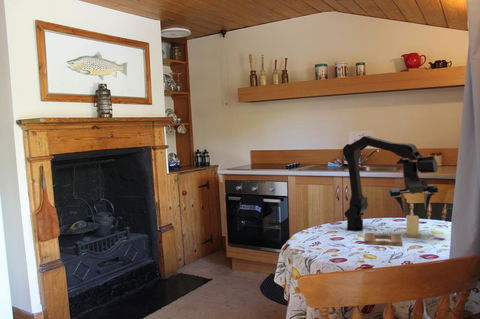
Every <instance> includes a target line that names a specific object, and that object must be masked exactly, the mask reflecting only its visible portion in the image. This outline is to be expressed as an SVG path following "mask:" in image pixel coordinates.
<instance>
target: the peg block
mask: <svg viewBox="0 0 480 319" xmlns="http://www.w3.org/2000/svg"><path fill="white" fill-rule="evenodd" d="M405 222H406V229H405V230H406V232H405V233H406V234H407V236H409V237H419V233H420V231H419V229H420V228H419V227H420V223H419V222H420V218H419V216H418V215H411V214H410V215H409V214H407V215H406V220H405Z"/></svg>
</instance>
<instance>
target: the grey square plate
mask: <svg viewBox="0 0 480 319" xmlns="http://www.w3.org/2000/svg"><path fill="white" fill-rule="evenodd" d="M402 234H403V238H404V239H405V238H406V239H407V238H410V239H423V236H422V233H420V232H419V237H409V236H407V234H406V232H402Z"/></svg>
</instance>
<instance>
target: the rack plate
mask: <svg viewBox="0 0 480 319" xmlns="http://www.w3.org/2000/svg"><path fill="white" fill-rule="evenodd" d="M364 245H369V246H370V245H371V246H390V247H396V248H395V250H396V249H399V248H397V247H403V239H402V235H401V234H400V233H399V234H397V233H383V232H382V233H381V232H379V233H378V232H364ZM378 248H380V249H381V248H382V247H378Z"/></svg>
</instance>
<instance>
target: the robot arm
mask: <svg viewBox="0 0 480 319" xmlns="http://www.w3.org/2000/svg"><path fill="white" fill-rule="evenodd" d="M368 146H369V147H372V148H375V149H379V150H383V151H384V150H385V151H388V152H391V153H393V154H395V156H398V157H400V158H399V159H398V160H397V162H396V165H401V167H402V174H403V175H402V177H403V178H402V179H403V185H404V187H403V188H398V187H393V188H388V189H387V195H388V196H389V197H392V198H393V199H395V200H396V202H397V204H398V207H399V208H400V210H401V212H402V213H404V211H405V210H404V204H403V200H402V196H401V195H402V194H412V195H414V194H423V200H424V201H423V203H424V211H428V208H429V204H430V200H431V199H432V197H433V196H435V194H436V193H439V187H438V186H437V185H436V184H428V181H427V180H426V179H423V180H420V176H419V173H421V174H436V173H437V172H439V170H438V169H439V165H438V162H437V159H436V156H435V155H429V156H423V155H422V154H421V152H420V151H419V150H418V149H417V145H415V144H414V143H406V142H405V143H404V142H393V141H390V140H386V139H381V138H377V137H373V136H370V135H366V136H365V135H364V136H362V137H361V138H359V139H357V140H355V141H353V142H352V143H349V144H346V145H345V146H343V148H342V153H343V157H344V159H345V161H346V163H347V166H348V175H349V176H348V177H349V185H350V194H351V196H350V199H349V204H348V206H349V207H348V208H347V210H346V211H345V212H344V213H343V214H344V216H345V218H346V221H347V222H346V224H347V225H346V226H347V228H346V231H350V232H352V231H353V232H362V231H363V229H364V219H363V217H362V216H364V213H365V212H366V211H367V210H368V207H369V203H368V197H367V196H364V194H363V190H362V182H361V180H362V179H361V173H360V164H359V162H360V159H361V154H362V151H363V150H365V149H366V148H368Z"/></svg>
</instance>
